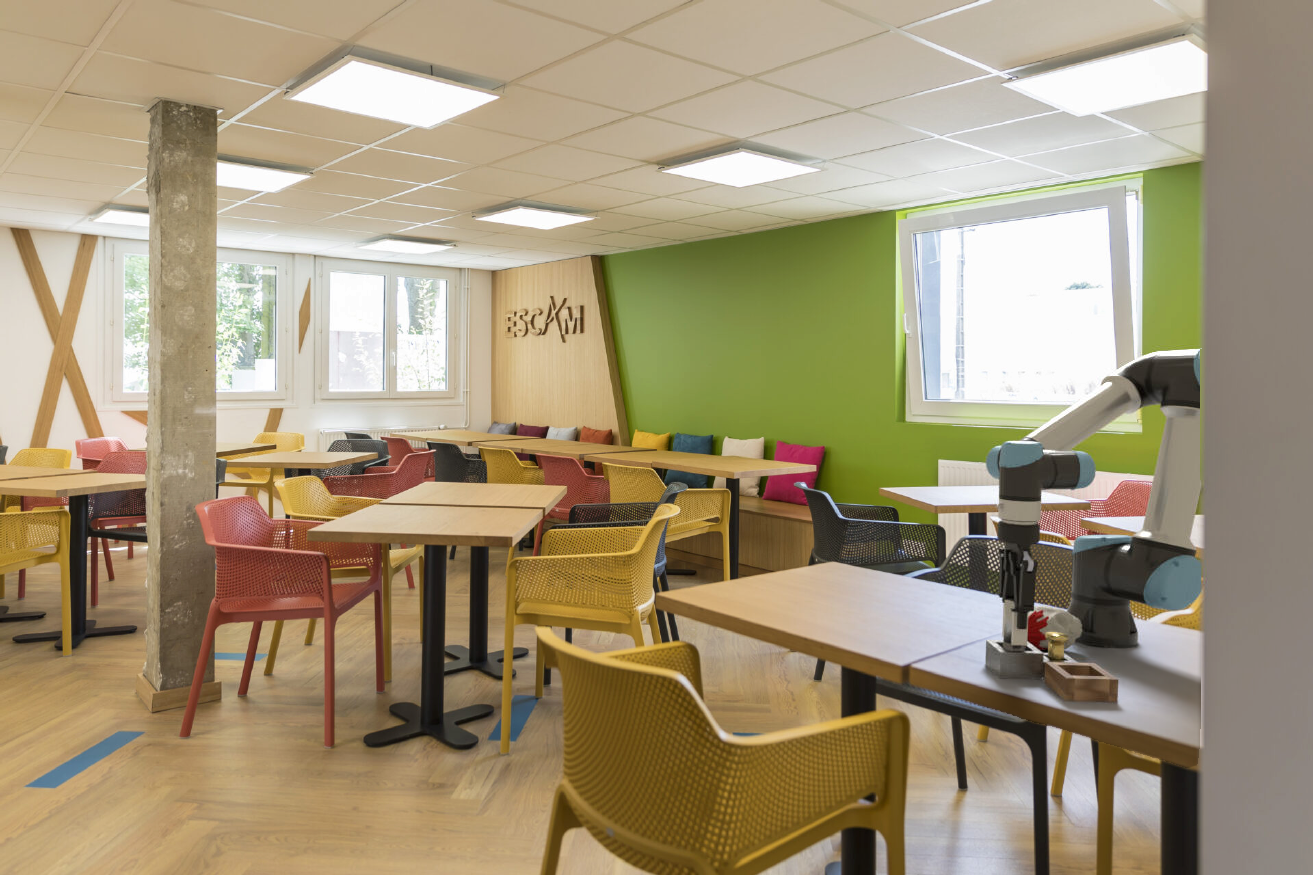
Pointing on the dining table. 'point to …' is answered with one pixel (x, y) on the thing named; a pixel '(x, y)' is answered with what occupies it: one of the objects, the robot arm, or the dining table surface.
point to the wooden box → (1081, 681)
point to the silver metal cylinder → (1009, 627)
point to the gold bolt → (1056, 645)
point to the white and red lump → (1051, 626)
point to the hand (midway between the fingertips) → (1014, 640)
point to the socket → (1018, 661)
